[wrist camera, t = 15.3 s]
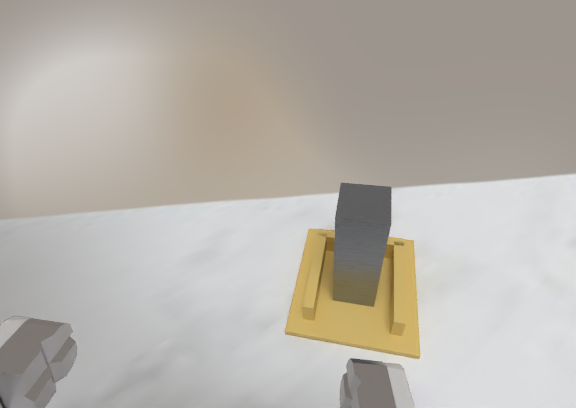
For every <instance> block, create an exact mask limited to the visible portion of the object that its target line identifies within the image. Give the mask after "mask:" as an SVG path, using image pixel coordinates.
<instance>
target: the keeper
mask: <svg viewBox="0 0 576 408" xmlns="http://www.w3.org/2000/svg"><path fill="white" fill-rule="evenodd" d="M334 242H335V231H332V230H323V229H310V228H309V231H308V236H307V240H306V244H305V248H304V253H303V257H302V261H301V265H300V270H299V274H298V278H297V282H296V287H295V291H294V295H293V300H292V304H291V308H290V312H289V317H288V321H287V325H286V329H285V334H288V335H293V336H299V337H304V338H310V339H315V340H320V341H326V342H331V343H336V344H342V345H347V346H352V347H358V348H363V349H369V350H374V351H379V352H385V353H390V354H395V355H401V356H406V357H411V358H417V359H419V357H420V345H419V327H418V309H417V291H416V274H415V256H414V241H413V240H405V239H401V238H393V237H388V241H387V246H386V251H385V256H384V260H383V265H382V270H381V275H380V280H379V284H378V289H377V294H376V299H375V304H374V307H371V306H365V305H358V304H352V303H346V302H339V301H333V272H334Z"/></svg>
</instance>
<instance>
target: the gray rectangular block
mask: <svg viewBox="0 0 576 408" xmlns="http://www.w3.org/2000/svg"><path fill="white" fill-rule="evenodd" d="M390 227H391V187H385V186H373V185H362V184H350V183H341V186H340V192H339V198H338V204H337V211H336V217H335V242H334V272H333V301H339V302H346V303H352V304H358V305H365V306H371V307H374V304H375V299H376V294H377V289H378V284H379V280H380V275H381V270H382V265H383V260H384V256H385V251H386V246H387V241H388V236H389V231H390Z"/></svg>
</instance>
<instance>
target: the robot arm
mask: <svg viewBox="0 0 576 408" xmlns="http://www.w3.org/2000/svg"><path fill="white" fill-rule="evenodd" d="M72 332H73V331H72V328H71V325H70V324H67V323H60V322H53V321H46V320H39V319H33V318H26V317H18V316H12V317H11V318H9V319H7V320H5V321H4V322H3V323H2V324H1V325H0V408H45V407H46V406H47V404H48V403H49V401H50V400H51V398H52V397H53V395H54V394H55V392H56V382H58V381H59V380H61V379H62V378H64V377H65V376H67V374H68V373H69V371H70V369H71V368H72V366H73V364H74V361H75V358H76V356H77V345H76V342H75V341H74V340H73V339H72V338H71V337H69V336H70V335H71V333H72ZM346 367H347V373H346V374H344V375H343V377H342V380H341V385H340V408H415V406H414V402H413V399H412V395H411V392H410V389H409V385H408V382H407V378H406V375H405V371H404V368H403V367H402V366H401V365H400V364H392V363H383V362H379V361H370V360H361V359H352V358H350V359H349V360H348V363H347V365H346Z"/></svg>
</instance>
